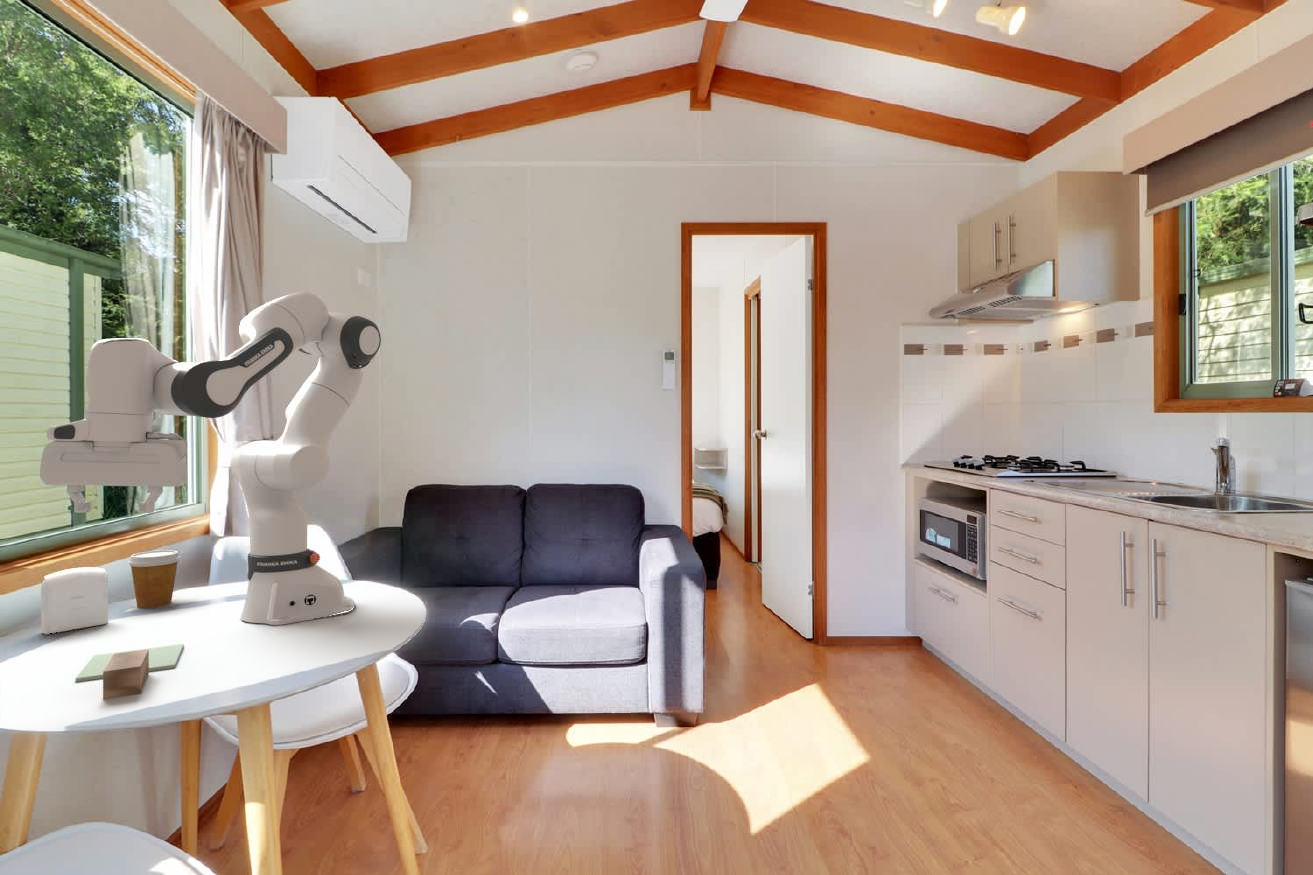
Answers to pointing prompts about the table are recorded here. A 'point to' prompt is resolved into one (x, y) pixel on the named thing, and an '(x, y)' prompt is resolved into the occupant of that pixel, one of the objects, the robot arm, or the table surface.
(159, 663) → the rubber mat
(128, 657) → the box
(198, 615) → the table surface
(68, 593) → the photo printer
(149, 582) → the disposable coffee cup
